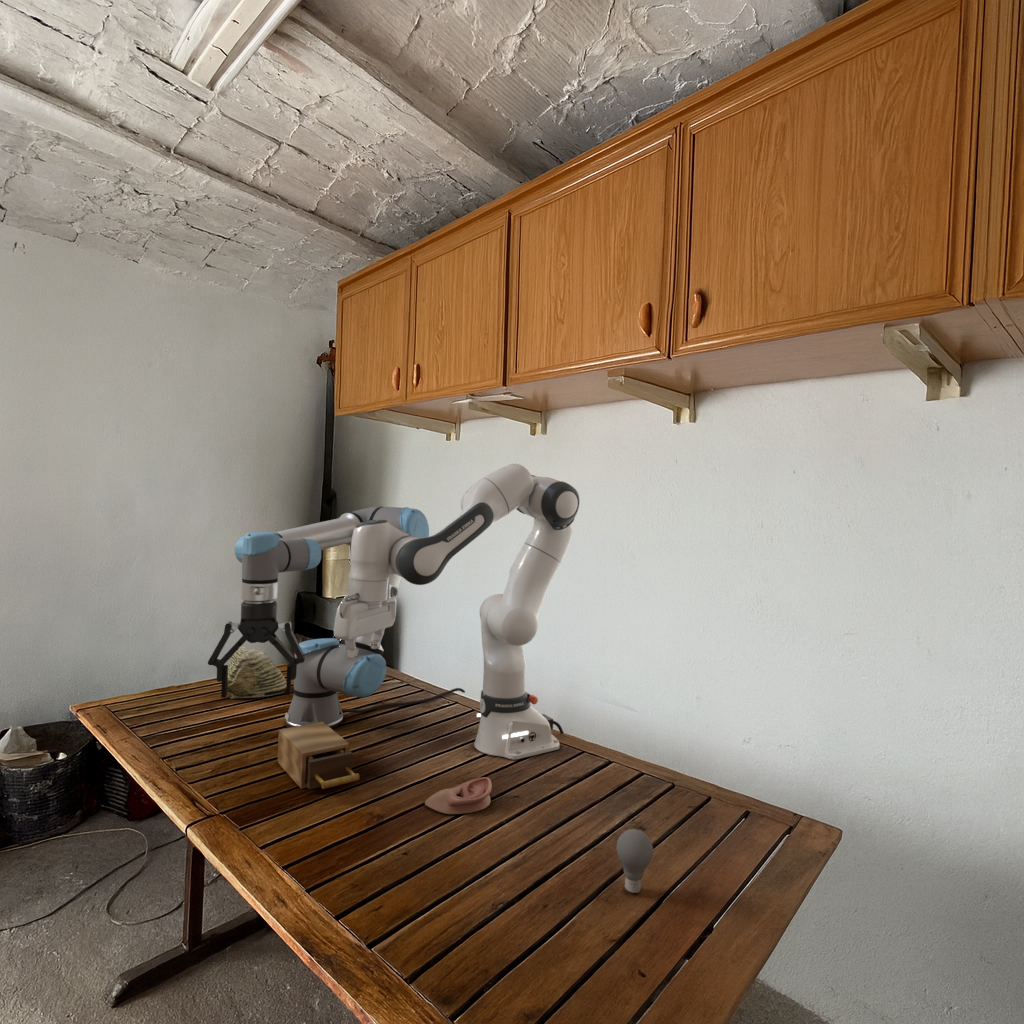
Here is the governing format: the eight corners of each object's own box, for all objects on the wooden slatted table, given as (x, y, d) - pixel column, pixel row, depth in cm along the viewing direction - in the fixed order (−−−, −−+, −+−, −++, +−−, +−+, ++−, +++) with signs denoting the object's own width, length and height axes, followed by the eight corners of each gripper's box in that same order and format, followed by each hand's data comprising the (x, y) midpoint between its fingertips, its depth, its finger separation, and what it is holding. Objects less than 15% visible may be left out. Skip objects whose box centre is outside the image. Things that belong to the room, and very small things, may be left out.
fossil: (218, 695, 195) (220, 647, 195) (278, 685, 208) (279, 640, 207) (228, 703, 189) (230, 653, 188) (289, 692, 201) (290, 645, 201)
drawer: (362, 789, 136) (363, 762, 136) (319, 800, 130) (320, 772, 130) (326, 755, 152) (327, 731, 152) (286, 764, 147) (287, 739, 146)
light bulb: (610, 879, 108) (613, 822, 108) (644, 879, 109) (647, 822, 109) (619, 902, 102) (622, 840, 102) (655, 901, 103) (658, 840, 103)
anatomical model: (420, 791, 129) (438, 768, 141) (419, 810, 129) (437, 786, 141) (483, 800, 127) (496, 776, 138) (482, 819, 127) (495, 794, 138)
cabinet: (348, 777, 143) (349, 743, 143) (301, 789, 137) (302, 753, 137) (321, 752, 156) (322, 721, 156) (277, 762, 150) (278, 729, 150)
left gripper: (194, 604, 136) (192, 702, 136) (316, 603, 142) (313, 697, 142) (203, 598, 143) (200, 691, 144) (318, 597, 149) (315, 687, 150)
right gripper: (354, 598, 132) (350, 664, 132) (402, 588, 151) (398, 645, 151) (328, 595, 134) (324, 660, 134) (379, 585, 153) (375, 642, 153)
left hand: (256, 694), depth 143 cm, fingers open, 13 cm apart
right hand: (364, 652), depth 143 cm, fingers open, 8 cm apart
